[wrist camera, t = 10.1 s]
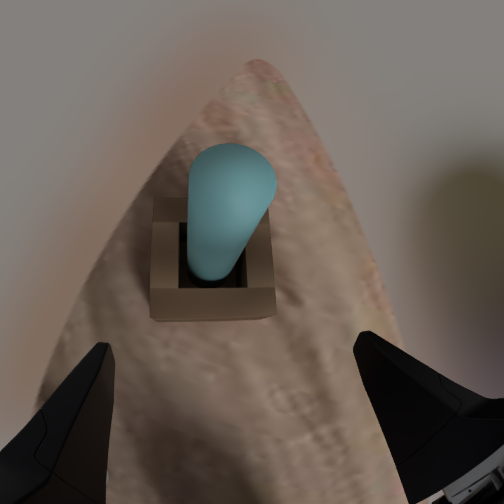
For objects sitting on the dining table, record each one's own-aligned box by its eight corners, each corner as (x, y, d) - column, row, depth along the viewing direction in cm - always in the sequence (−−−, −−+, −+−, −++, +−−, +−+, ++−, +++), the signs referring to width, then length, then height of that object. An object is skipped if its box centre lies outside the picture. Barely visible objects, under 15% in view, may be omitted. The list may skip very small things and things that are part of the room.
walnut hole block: (259, 319, 22) (276, 314, 18) (157, 321, 21) (149, 317, 16) (253, 225, 25) (267, 201, 21) (159, 223, 23) (154, 197, 19)
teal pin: (229, 289, 22) (281, 218, 10) (187, 290, 21) (187, 216, 9) (227, 249, 23) (272, 146, 11) (187, 249, 22) (190, 141, 10)
